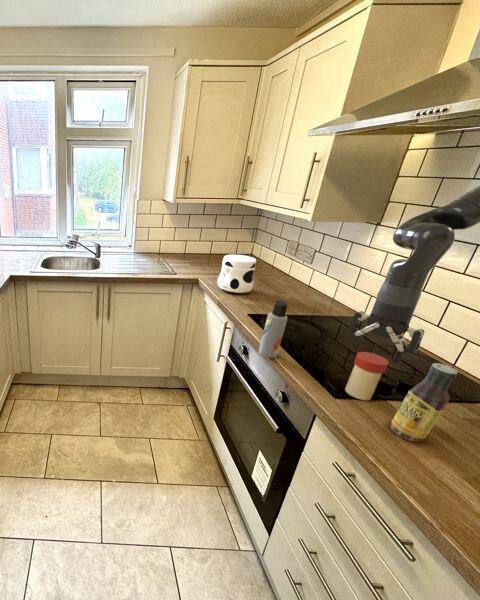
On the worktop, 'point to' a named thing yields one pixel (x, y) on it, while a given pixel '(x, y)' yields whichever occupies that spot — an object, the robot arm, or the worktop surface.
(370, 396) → the jar
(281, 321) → the lotion bottle
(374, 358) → the jar lid
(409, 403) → the sauce bottle
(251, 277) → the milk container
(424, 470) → the worktop surface
